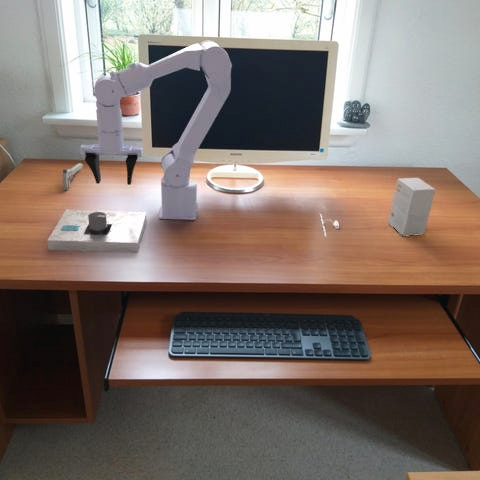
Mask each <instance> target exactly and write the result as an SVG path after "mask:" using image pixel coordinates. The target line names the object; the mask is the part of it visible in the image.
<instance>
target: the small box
mask: <svg viewBox="0 0 480 480" xmlns="http://www.w3.org/2000/svg"><path fill="white" fill-rule="evenodd" d="M435 193H436V188H434V187H433V186H431V185H430V184H428V183H427V182H426V181H424V180H423V179H421V178H419V177H406V178H403V177H402V178H399V177H398V178H397V181H396V186H395V190H394V194H393V199H392V204H391V208H390V212H389V217H388V221H387V224H388V223H389V224H388V225H390V226H391V227H392V228H393V227H394V228H395V229H396V230H397V231H398V232H399V233H398V232H397V231H396V230H395V229H394V228H393V229H394V230H395V231H396V232H397V233H398V234H400V235H401V234H402V235H403V236H406V235H415V234H424V235H425V232H426V229H427V225H428V221H429V216H430V212H431V209H432V205H433V202H434V198H435V197H434V196H435ZM402 235H401V236H402ZM403 236H402V237H403ZM406 237H407V236H406Z"/></svg>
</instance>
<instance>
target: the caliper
mask: <svg viewBox="0 0 480 480" xmlns="http://www.w3.org/2000/svg"><path fill="white" fill-rule="evenodd" d="M83 166H84V164H82V163H77V164H76V165H74V166H73V167H71V168H69V169H68V168H63V169H62V185H63V191H69V189H70V185H71V184H70V181H71V180H72V179H73V176H74V175H75V174H76V173H77V172H78V171H80V170H81V169H82V168H83Z"/></svg>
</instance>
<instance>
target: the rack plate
mask: <svg viewBox="0 0 480 480" xmlns="http://www.w3.org/2000/svg"><path fill="white" fill-rule="evenodd" d="M93 212H103V213H105V214H106V221H107V233H108V235H90V229H89V219H88V215H89V214H91V213H93ZM58 220H59V221H58V222H57V223H56V225H55V227H54V229H53V230H52V232H51V234H49V237H48V238H47V240H46V241H47V247H48V250H49V251H78V252H81V251H82V252H105V253H106V252H107V253H108V252H109V253H111V252H112V253H117V252H119V253H139V250H140V246H141V243H142V240H143V235H144V233H145V228H146V224H147V222H148V221H147V212H146V211H129V210H128V211H126V210H121V211H120V210H99V209H97V210H94V209H93V210H92V209H68V208H66V209H65V211H64V212H63V213H62V216H61V218H60V219H58Z"/></svg>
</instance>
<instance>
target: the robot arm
mask: <svg viewBox="0 0 480 480" xmlns="http://www.w3.org/2000/svg"><path fill="white" fill-rule="evenodd" d="M128 65H129V66H128V67H126V68H123V69H121V70H118V71H116V72H115V71H114V70H112V71H110V72H109V75H107V74H106V75H102V76H100V77H98V78H97V80H96V81H95V83H94V87H93V90H94V97H95V98H96V102H95V106H96V107H95V108H96V111H95V112H96V122H97V133H98V134H97V135H98V143H96V144H95V143H94V144H81V146H80V147H79V149H80V155H81V156H85V157H84V161H85V163H86V164H87V166H88V167H89V169H90V170H91V172H92V174H93V177H94V180H95V184H100V183H101V180H102V177H101V170H100V156H121V157H122V156H123V157H126V158H125V165H126V174H127V177H126V179H127V181H126V182H127V185H131V184H132V182H133V180H132V179H133V174H134V171H135V170H134V169H135V166H136V163H137V161H138V158H142V157H143V154H144V153H143V151H144V150H143V147H142V146H141V147H140V146H135V145H134V146H132V145H127V144H124V132H123V131H124V130H123V129H124V127H123V116H122V115H123V114H122V109H121V103H120V101H121V99H122V98H127V97H129V96H132V95H134V94H136V93H138V92H141V91H144V90H146V89H148V88H150V87H151V86H152V84H153V81H154V80H155V79H157V78H160V77H161V78H162V77H164V76H166V75H169V74H171V73H174V72H177V71H181V70H182V69H190V70H195V71H201V69H202V71H203V73H204V76H205V79H206V82H207V85H208V86H207V89H206V91H205V92H204V94H203V97H202V98H201V100H200V102H199V103H198V105H197V106H196V108H195V111H194V112H193V114H192V116H191V118H190V119H189V122H188V123H187V125H186V127H185V129H184V131H183V132H182V134H181V136H180V138H179V140H178V142H176V143H175V144H174V145H172V147H171V149H170V150H169V151H167V153H165V154H164V155H163V156H162V158H161V160H160V166H161V169H162V171H163V173H164V174H163V176H162V178H161V179H160V182H161V183H160V188H161V189H160V190H161V195H160V197H161V207H160V211H159V215H158V218H159V219H161V220H162V219H163V220H186V221H187V220H190V221H195V220H196V218H197V210H198V208H199V206H198V200H197V199H198V198H197V197H198V193H197V192H198V183H197V182H195V181H190V177H191V170H192V168H193V165H194V162H195V156H196V153H197V152H198V149H199V148H200V146H201V144H202V142H203V141H204V139H205V137H206V135H207V134H208V132H209V131H210V129H211V127H212V125H213V123H214V122H215V119H216V118H217V116H218V115H219V112H220V111H221V109H222V108H223V105H224V104H225V102H226V101H227V98H228V97H229V96H230V93H231V91H232V90H231V88H232V85H231V83H232V77H231V74H232V67H233V64H232V61H231V59H230V57H229V54H228V52H227V51H226V50H225V49H224V48H223V47H222V46H219V44H218V43H217V42H216V41H213V40H204V41H202V42H201V43H193V44H191V45H189V46H187V47H185V48H182V49H179V50H178V51H176V52H174V53H172V54H169V55H168V56H165V57H163V58H161V59H159V60H157V61H155V62H152V63H150V64H145V63H142V62H138V63H135V62H134V61H132V62H130V63H129V64H128ZM200 68H201V69H200Z"/></svg>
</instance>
